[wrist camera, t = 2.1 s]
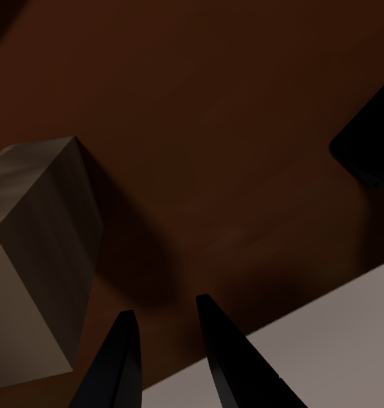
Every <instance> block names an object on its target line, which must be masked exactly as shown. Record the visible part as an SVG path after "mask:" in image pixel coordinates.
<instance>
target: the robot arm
mask: <svg viewBox="0 0 384 408" xmlns="http://www.w3.org/2000/svg"><path fill="white" fill-rule="evenodd" d="M338 143H339V145H338V147H336V145H337V144H338ZM330 149H331V151H332V152H333V153H334V154H335V155H336V156H337V157H338V158H339V159H340V160H341V161H342V162H343V163H344V164H345V165H346V166H347V167H348V168H349V169H350V170H351V171H352V172H353V173H354V174H355V175H356V176H357V177H358V178H359V179H360V180H361V181H362V182H363V183H364V184H365V185H366V186H367V187H369V188H370V189H372V190H376V189H378V188H380V187H381V186H382V185H383V184H384V86H383V87H382V88H381V89H380V90H379V91H378V92H377V93H376V94H375V96H374V97H373V98H372V99H371V100H370V101H369V102H368V103H367V104H366V105H365V106H364V107H363V108H362V109H361V110H360V111H359V112H358V114H357V115H356V116H355V117H354V118H353V119H352V120H351V121H350V122H349V123H348V124H347V125H346V126H345V127H344V128H343V130H342V131H341V132H340V133H339V134H338V135H337V136H336V137H335V138H334V139H333V140H332V141H331V143H330ZM374 183H375V184H374ZM196 302H197V309H198V315H199V320H200V325H201V330H202V335H203V340H204V344H205V349H206V354H207V359H208V363H209V367H210V370H211V373H212V377H213V379H214V383H215V386H216V389H217V392H218V395H219V398H220V401H221V404H222V407H223V408H308V407H307V406H306V405H305V404H304V403H303V402H302V401H301V400H300V399H299V397H297V395H296V394H295V393H294V392H293V391H292V390H291V389H290V387H289V386H288V385H287V384H286V383H285V382H284V381H283V379H282V378H279V375H278V374H277V373H276V371H274V369H273V368H272V367H271V366H270V365H269V363H268V362H267V361H266V360H265V359H264V358H263V357H262V355H261V354H260V353H259V352H258V351H257V350H256V348H255V347H254V346H253V345H252V344H251V343H250V342H249V341H248V339H247V338H246V337H245V336H244V335H243V333H242V332H241V331H240V330H239V329H238V328H237V327H236V325H235V324H234V323H233V322H232V321H231V320H230V318H229V317H228V316H227V315H226V314H225V313H224V312H223V310H222V309H221V308H220V307H219V306H218V305H217V303H216V302H215V301H214V300H213V299H212V298H211V297H210V295H208V294H202V295H198V296H196ZM141 404H142V366H141V350H140V335H139V327H138V323H137V320H136V317H135V314H134V312H133V310H127V311H122V312H120V313H119V315H118V316H117V318H116V320H115V322H114V324H113V326H112V327H111V329H110V331H109V333H108V335H107V337H106V338H105V340H104V342H103V344H102V346H101V348H100V349H99V351H98V353H97V355H96V357H95V359H94V360H93V362H92V364H91V366H90V368H89V370H88V371H87V373H86V375H85V377H84V379H83V381H82V382H81V384H80V386H79V388H78V390H77V392H76V393H75V395H74V397H73V399H72V401H71V403H70V404H69V406H68V408H141Z"/></svg>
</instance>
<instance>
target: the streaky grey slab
mask: <svg viewBox="0 0 384 408" xmlns="http://www.w3.org/2000/svg"><path fill="white" fill-rule="evenodd" d="M103 230H104V224H103V221H102V218H101V214H100V211H99V208H98V205H97V202H96V199H95V196H94V193H93V190H92V187H91V184H90V181H89V178H88V175H87V172H86V169H85V165H84V162H83V159H82V156H81V153H80V150H79V147H78V144H77V141H76V138H75V135H73V136H66V137H60V138H53V139H47V140H40V141H33V142H27V143H20V144H14V145H9V146H7V147H6V148H4V149H3V150H1V151H0V387H4V386H9V385H13V384H18V383H22V382H26V381H31V380H35V379H40V378H44V377H48V376H53V375H57V374H61V373H66V372H70V371H73V369H74V365H75V360H76V356H77V351H78V346H79V342H80V337H81V332H82V328H83V323H84V318H85V314H86V309H87V304H88V300H89V295H90V291H91V286H92V281H93V277H94V272H95V267H96V263H97V258H98V253H99V249H100V244H101V240H102V235H103Z"/></svg>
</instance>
